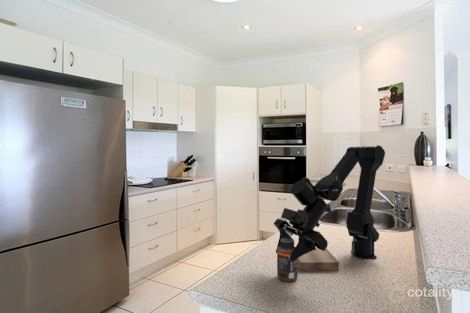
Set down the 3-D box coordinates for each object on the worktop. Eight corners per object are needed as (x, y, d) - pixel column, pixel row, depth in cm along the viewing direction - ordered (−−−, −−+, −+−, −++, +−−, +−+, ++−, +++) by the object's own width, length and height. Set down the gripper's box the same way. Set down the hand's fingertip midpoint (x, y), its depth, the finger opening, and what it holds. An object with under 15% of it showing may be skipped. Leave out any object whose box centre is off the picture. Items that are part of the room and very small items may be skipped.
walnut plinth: (326, 255, 101) (326, 248, 101) (338, 270, 89) (338, 262, 89) (293, 255, 101) (293, 248, 101) (300, 270, 89) (300, 262, 89)
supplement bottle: (297, 283, 80) (297, 243, 80) (276, 281, 81) (276, 242, 81) (297, 274, 86) (297, 237, 86) (277, 272, 87) (277, 236, 87)
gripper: (277, 194, 93) (249, 232, 88) (320, 203, 77) (288, 251, 72) (296, 214, 97) (270, 252, 92) (340, 227, 81) (311, 274, 76)
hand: (283, 256), depth 83 cm, fingers closed on supplement bottle, 6 cm apart
